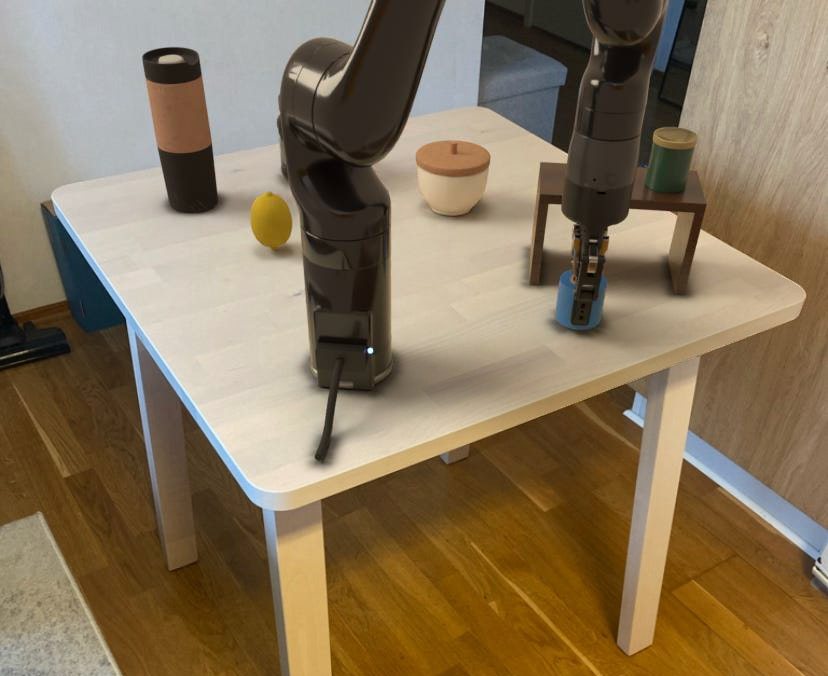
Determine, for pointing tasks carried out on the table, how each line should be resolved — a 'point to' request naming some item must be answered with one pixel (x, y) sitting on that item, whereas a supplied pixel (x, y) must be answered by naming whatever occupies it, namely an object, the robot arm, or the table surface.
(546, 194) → the shelf
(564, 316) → the tape roll
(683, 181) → the tea tin
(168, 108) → the travel mug
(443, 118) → the table surface
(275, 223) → the lemon
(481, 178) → the trinket box
